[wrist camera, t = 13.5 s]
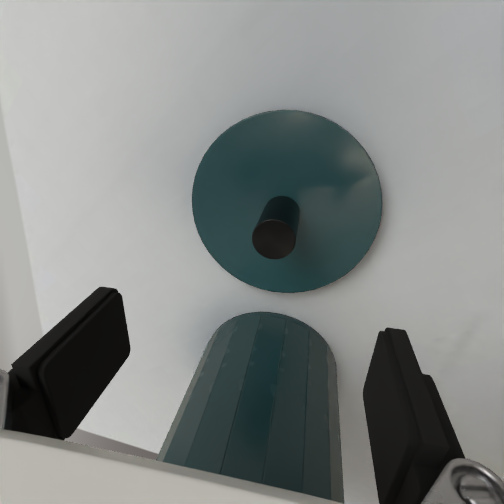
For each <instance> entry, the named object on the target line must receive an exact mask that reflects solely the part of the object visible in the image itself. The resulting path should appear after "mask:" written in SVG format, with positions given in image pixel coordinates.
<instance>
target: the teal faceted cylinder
mask: <svg viewBox="0 0 504 504" xmlns="http://www.w3.org/2000/svg"><path fill="white" fill-rule="evenodd" d="M156 461H161V462H165V463H170V464H174V465H179V466H183V467H188V468H192V469H197V470H201V471H206V472H210V473H215V474H219V475H224V476H228V477H233V478H237V479H241V480H246V481H250V482H255V483H259V484H264V485H268V486H272V487H277V488H281V489H286V490H290V491H294V492H299V493H303V494H307V495H311V496H315V497H319V498H323V499H328V500H332V501H336V502H340V503H344V489H343V473H342V456H341V440H340V423H339V406H338V390H337V373H336V362H335V359H334V356H333V353H332V351H331V349H330V347H329V345H328V344H327V343H326V341H325V340H324V339H323V338H322V337H321V336H320V335H319V334H318V333H317V332H316V331H315V330H314V329H312V328H311V327H309V326H308V325H306V324H305V323H303V322H301V321H299V320H297V319H294V318H292V317H289V316H286V315H282V314H278V313H270V312H254V313H247V314H243V315H240V316H237V317H234V318H232V319H230V320H228V321H227V322H225V323H224V324H222V325H221V326H220V327H219V328H218V329H217V330H216V332H215V333H214V334H213V336H212V338H211V339H210V341H209V342H208V345H207V347H206V349H205V351H204V354H203V356H202V358H201V360H200V363H199V365H198V367H197V369H196V371H195V374H194V376H193V378H192V380H191V383H190V385H189V387H188V389H187V392H186V394H185V396H184V398H183V401H182V403H181V405H180V407H179V410H178V412H177V414H176V416H175V419H174V421H173V423H172V425H171V428H170V430H169V432H168V434H167V437H166V439H165V441H164V443H163V445H162V448H161V450H160V452H159V454H158V457H157V459H156Z"/></svg>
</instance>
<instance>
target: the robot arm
mask: <svg viewBox="0 0 504 504" xmlns="http://www.w3.org/2000/svg"><path fill="white" fill-rule="evenodd" d="M129 353H130V342H129V336H128V330H127V324H126V318H125V312H124V306H123V300H122V295H121V294H120V293H118V291H117V289H114V288H107V287H99V288H98V289H96V290H95V291H94V292H93V293H92V294H91V295H90V296H89V297H87V298H86V299H85V300H84V301H83V302H82V303H81V304H79V305H78V306H77V307H76V308H75V309H74V310H73V311H72V312H70V313H69V314H68V315H67V316H66V317H65V318H64V319H62V320H61V321H60V322H59V323H58V324H57V325H56V326H55V327H53V328H52V329H51V330H50V331H49V332H48V333H47V334H45V335H44V336H43V337H42V338H41V339H40V340H39V341H37V342H36V343H35V344H34V345H33V346H32V347H31V348H30V349H28V350H27V351H26V352H25V353H24V354H23V355H22V356H20V357H19V358H18V359H17V360H16V361H15V362H14V363H13V364H11V365H12V367H13V369H11V370H10V371H9V372H8V373H7V372H6V371H4V370H1V369H0V504H344V503H340V502H336V501H332V500H328V499H323V498H319V497H315V496H311V495H307V494H303V493H299V492H294V491H290V490H286V489H281V488H277V487H272V486H268V485H264V484H259V483H255V482H250V481H246V480H241V479H237V478H233V477H228V476H224V475H219V474H215V473H210V472H206V471H201V470H197V469H192V468H188V467H183V466H179V465H174V464H170V463H165V462H161V461H156V460H151V459H147V458H142V457H137V456H133V455H129V454H124V453H119V452H115V451H109V450H105V449H100V448H96V447H91V446H87V445H82V444H77V443H73V442H68V441H64V439H65V438H68V437H70V436H71V435H72V434H73V432H74V431H75V430H76V428H77V427H78V426H79V424H80V423H81V421H82V420H83V419H84V417H85V416H86V415H87V413H88V412H89V410H90V409H91V408H92V406H93V405H94V403H95V402H96V401H97V399H98V398H99V397H100V395H101V394H102V392H103V391H104V390H105V388H106V387H107V385H108V384H109V383H110V381H111V380H112V379H113V377H114V376H115V374H116V373H117V372H118V370H119V369H120V367H121V366H122V365H123V363H124V362H125V360H126V359H127V358H128V356H129ZM363 400H364V406H365V413H366V420H367V426H368V433H369V439H370V446H371V452H372V459H373V465H374V472H375V479H376V485H377V492H378V498H379V503H380V504H504V482H503V481H502V480H501V479H500V478H499V477H498V476H497V475H496V474H495V473H493V472H492V471H491V470H490V469H488V468H487V467H485V466H483V465H482V464H480V463H478V462H475V461H473V460H470V459H465V456H464V454H463V452H462V449H461V447H460V444H459V442H458V439H457V437H456V434H455V432H454V429H453V427H452V425H451V422H450V420H449V417H448V415H447V412H446V410H445V407H444V405H443V403H442V400H441V398H440V395H439V393H438V390H437V388H436V385H435V383H434V381H433V379H432V377H431V376H430V375H426V374H422V372H421V370H420V367H419V364H418V362H417V359H416V356H415V354H414V351H413V348H412V346H411V343H410V340H409V338H408V335H407V333H406V331H405V330H400V329H393V328H386V329H385V332H384V331H380V332H379V334H378V338H377V341H376V345H375V348H374V352H373V356H372V359H371V363H370V367H369V370H368V374H367V377H366V381H365V385H364V389H363Z"/></svg>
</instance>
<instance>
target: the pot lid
mask: <svg viewBox="0 0 504 504" xmlns="http://www.w3.org/2000/svg"><path fill="white" fill-rule="evenodd" d="M192 208H193V215H194V221H195V224H196V227H197V230H198V233H199V235H200V237H201V240H202V242H203V244H204V245H205V247H206V248H207V250H208V252H209V253H210V254H211V255H212V257H213V258H214V259H215V260H216V261H217V262H218V263H219V264H220V265H221V266H222V267H223V268H224V269H225V270H226V271H227V272H229V273H230V274H231V275H233V276H234V277H236V278H238V279H239V280H241V281H243V282H245V283H247V284H249V285H251V286H254V287H257V288H260V289H264V290H268V291H273V292H281V293H295V292H304V291H309V290H314V289H317V288H320V287H323V286H326V285H328V284H330V283H332V282H334V281H336V280H338V279H339V278H341V277H342V276H344V275H345V274H347V273H348V272H349V271H350V270H352V269H353V268H354V267H355V266H356V265H357V264H358V263H359V262H360V261H361V259H362V258H363V257H364V255H365V254H366V253H367V251H368V250H369V248H370V246H371V245H372V243H373V241H374V239H375V236H376V234H377V231H378V228H379V224H380V220H381V214H382V192H381V186H380V182H379V177H378V175H377V172H376V169H375V167H374V164H373V163H372V161H371V159H370V157H369V156H368V154H367V152H366V151H365V150H364V148H363V147H362V146H361V145H360V143H359V142H358V141H357V140H356V139H355V138H354V137H353V136H352V135H351V134H350V133H349V132H348V131H346V130H345V129H343V128H342V127H341V126H339V125H338V124H336V123H334V122H332V121H330V120H328V119H326V118H324V117H322V116H319V115H316V114H313V113H309V112H304V111H298V110H276V111H268V112H264V113H260V114H256V115H253V116H251V117H249V118H246V119H244V120H242V121H240V122H238V123H237V124H235V125H233V126H231V127H230V128H229V129H227V130H226V131H225V132H224V133H222V134H221V135H220V136H219V137H218V138H217V139H216V140H215V141H214V143H213V144H212V145H211V146H210V148H209V149H208V150H207V152H206V153H205V155H204V157H203V159H202V161H201V163H200V165H199V167H198V170H197V173H196V176H195V180H194V185H193V192H192Z"/></svg>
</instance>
